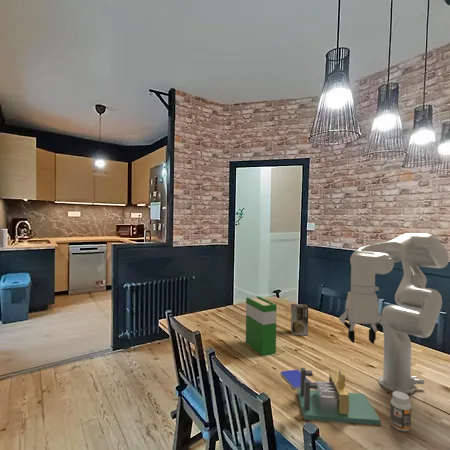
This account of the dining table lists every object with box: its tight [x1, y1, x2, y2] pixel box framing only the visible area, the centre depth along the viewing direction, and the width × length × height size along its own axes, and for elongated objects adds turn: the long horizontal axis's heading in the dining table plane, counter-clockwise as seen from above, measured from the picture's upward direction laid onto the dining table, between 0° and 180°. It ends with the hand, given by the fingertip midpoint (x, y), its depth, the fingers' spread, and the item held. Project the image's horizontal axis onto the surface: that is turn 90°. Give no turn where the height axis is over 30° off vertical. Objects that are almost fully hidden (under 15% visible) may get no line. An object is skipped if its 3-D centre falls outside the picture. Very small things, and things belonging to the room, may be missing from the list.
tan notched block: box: [328, 368, 350, 415], centre depth 106 cm, size 3×14×10 cm, turn 175°
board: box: [296, 367, 382, 426], centre depth 106 cm, size 24×15×11 cm, turn 85°
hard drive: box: [280, 369, 309, 390], centre depth 125 cm, size 2×8×12 cm
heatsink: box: [314, 380, 339, 412], centre depth 107 cm, size 8×10×6 cm
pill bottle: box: [389, 391, 412, 432], centre depth 97 cm, size 6×6×10 cm
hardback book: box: [245, 295, 277, 357], centre depth 156 cm, size 18×7×24 cm, turn 23°
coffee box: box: [290, 303, 309, 336], centre depth 176 cm, size 9×6×16 cm
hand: (361, 341), depth 106 cm, fingers open, 5 cm apart
